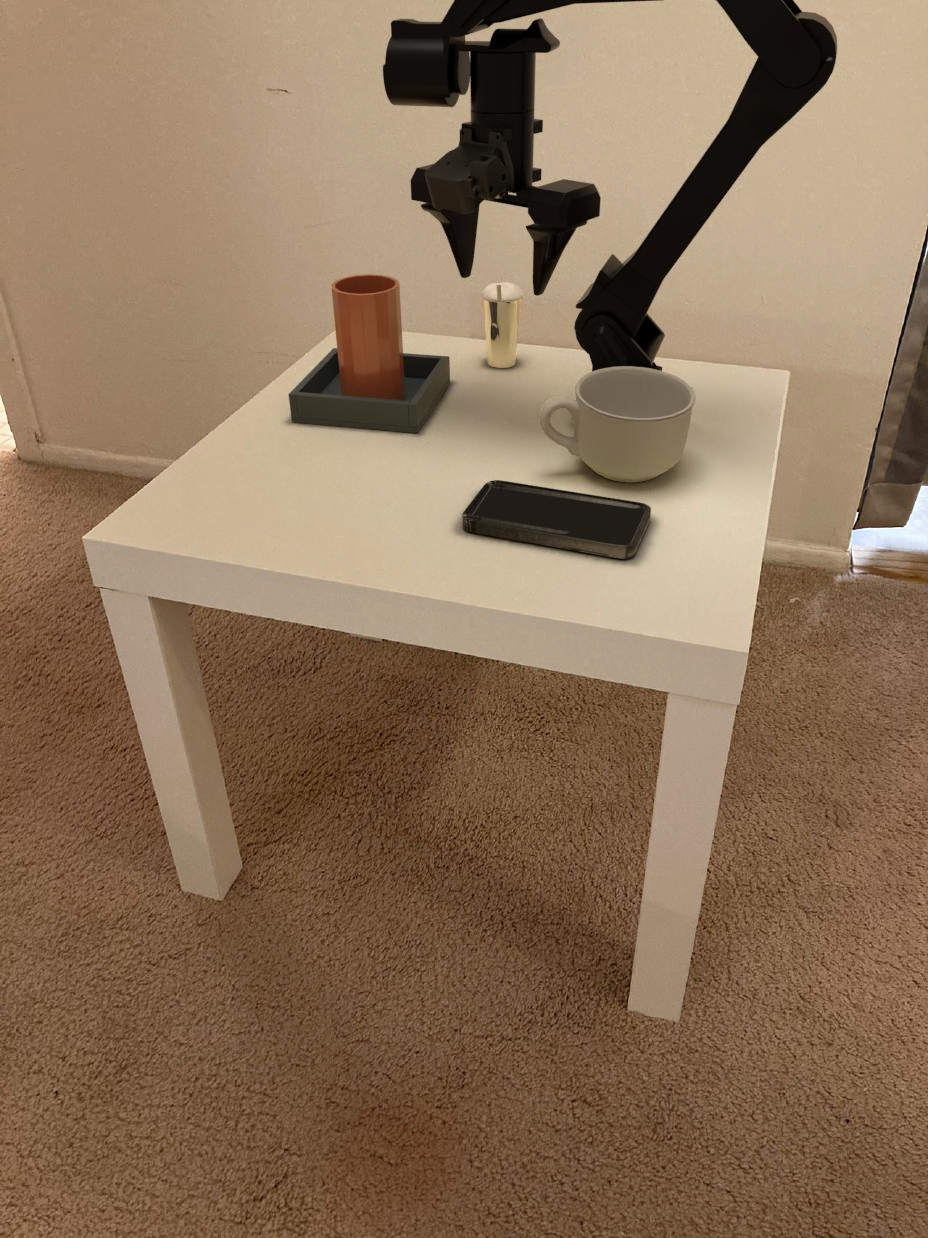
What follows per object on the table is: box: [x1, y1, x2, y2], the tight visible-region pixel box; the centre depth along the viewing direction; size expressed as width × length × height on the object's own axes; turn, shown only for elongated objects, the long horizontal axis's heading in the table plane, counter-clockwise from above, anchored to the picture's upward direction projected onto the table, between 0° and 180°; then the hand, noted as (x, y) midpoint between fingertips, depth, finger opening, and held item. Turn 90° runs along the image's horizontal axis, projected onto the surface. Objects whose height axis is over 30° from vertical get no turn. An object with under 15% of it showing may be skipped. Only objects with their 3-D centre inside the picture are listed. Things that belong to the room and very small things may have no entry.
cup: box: [330, 273, 405, 400], centre depth 103 cm, size 7×7×12 cm
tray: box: [288, 347, 451, 434], centre depth 106 cm, size 14×14×3 cm
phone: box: [462, 479, 652, 560], centre depth 84 cm, size 8×1×15 cm
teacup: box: [538, 366, 696, 484], centre depth 91 cm, size 14×11×8 cm
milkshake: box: [481, 281, 523, 369], centre depth 112 cm, size 4×5×10 cm
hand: (501, 285), depth 97 cm, fingers open, 9 cm apart
